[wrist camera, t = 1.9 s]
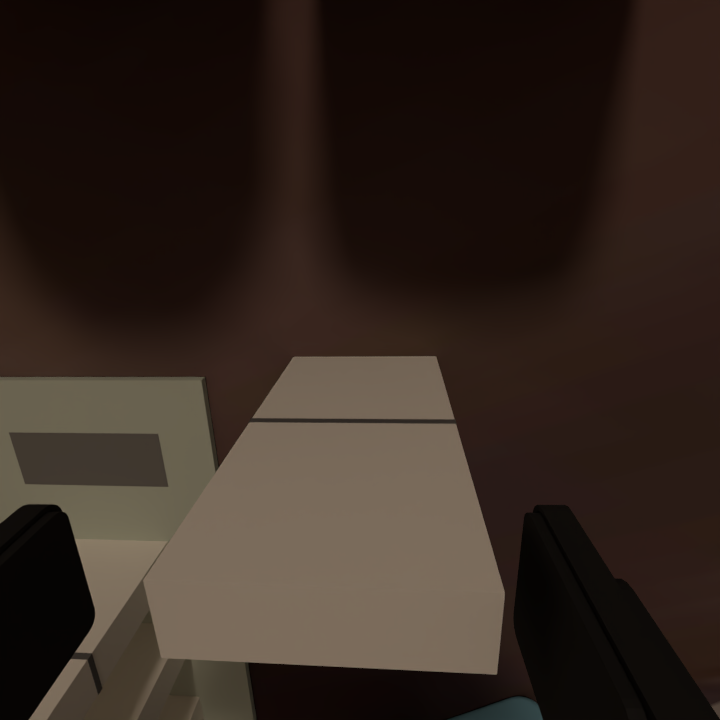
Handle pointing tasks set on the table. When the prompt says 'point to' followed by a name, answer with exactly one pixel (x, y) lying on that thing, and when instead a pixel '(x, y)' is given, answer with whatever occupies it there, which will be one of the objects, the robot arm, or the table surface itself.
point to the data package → (505, 711)
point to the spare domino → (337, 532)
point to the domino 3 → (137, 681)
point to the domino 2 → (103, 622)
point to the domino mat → (119, 478)
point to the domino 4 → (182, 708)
